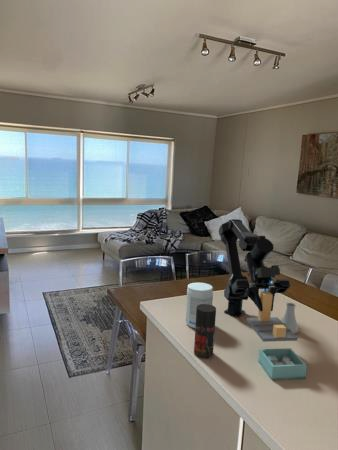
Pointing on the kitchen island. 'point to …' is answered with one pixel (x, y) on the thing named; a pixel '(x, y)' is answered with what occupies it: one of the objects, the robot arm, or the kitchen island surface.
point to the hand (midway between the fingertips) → (266, 310)
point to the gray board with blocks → (270, 323)
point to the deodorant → (204, 331)
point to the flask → (290, 318)
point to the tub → (282, 364)
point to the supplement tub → (197, 300)
